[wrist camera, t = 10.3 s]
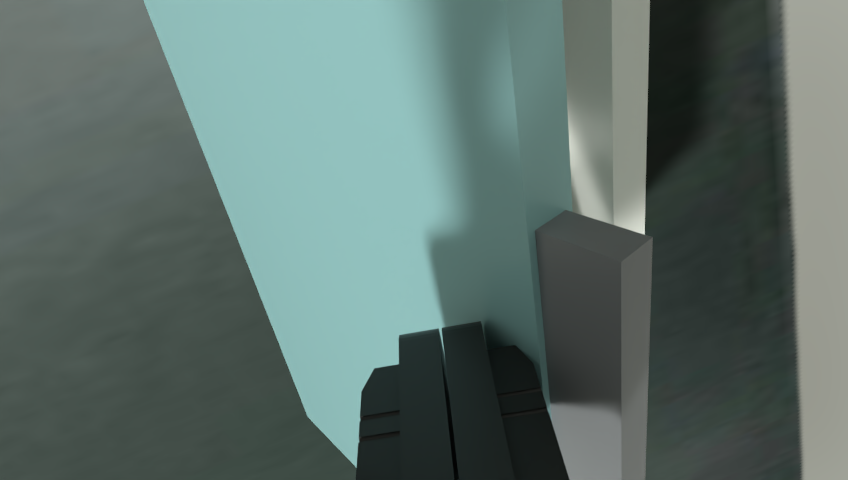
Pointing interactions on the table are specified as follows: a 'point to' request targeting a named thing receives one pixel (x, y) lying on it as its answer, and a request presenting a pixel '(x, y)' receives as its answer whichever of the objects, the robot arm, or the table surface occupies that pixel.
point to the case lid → (417, 200)
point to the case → (607, 108)
